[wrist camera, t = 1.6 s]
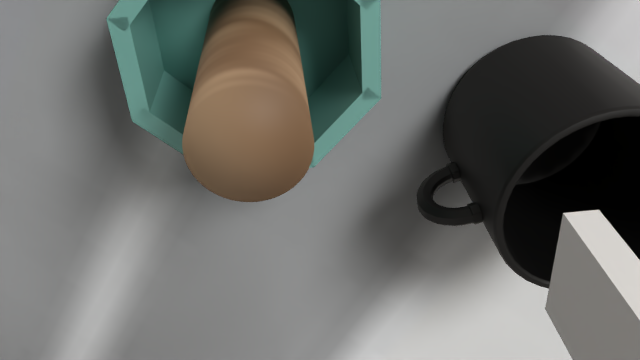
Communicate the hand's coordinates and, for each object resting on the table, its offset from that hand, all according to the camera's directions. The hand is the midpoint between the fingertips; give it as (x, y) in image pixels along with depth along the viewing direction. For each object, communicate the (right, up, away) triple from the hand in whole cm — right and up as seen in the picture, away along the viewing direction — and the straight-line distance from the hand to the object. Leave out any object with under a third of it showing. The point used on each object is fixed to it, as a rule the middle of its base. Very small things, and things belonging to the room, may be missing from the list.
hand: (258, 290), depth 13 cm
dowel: (-2, +10, +16) cm, 19 cm away
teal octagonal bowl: (-2, +10, +16) cm, 19 cm away
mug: (+11, +6, +21) cm, 24 cm away
